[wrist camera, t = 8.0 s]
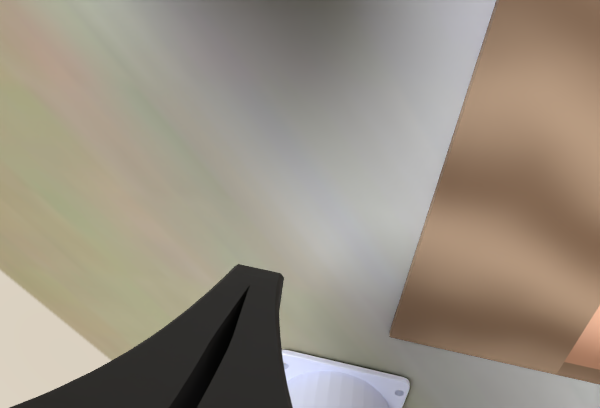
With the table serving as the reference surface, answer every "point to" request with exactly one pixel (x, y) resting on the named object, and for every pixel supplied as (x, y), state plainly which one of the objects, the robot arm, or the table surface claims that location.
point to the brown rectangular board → (519, 201)
